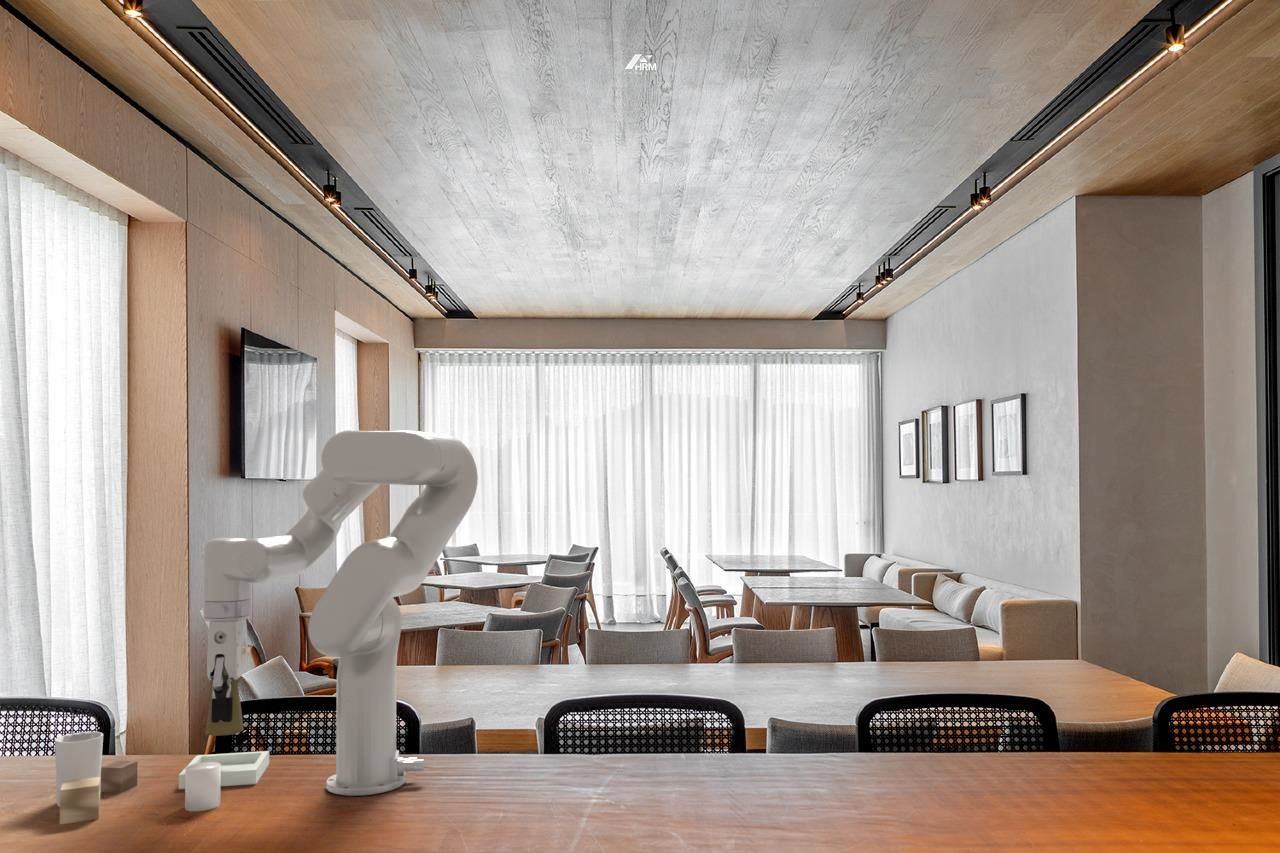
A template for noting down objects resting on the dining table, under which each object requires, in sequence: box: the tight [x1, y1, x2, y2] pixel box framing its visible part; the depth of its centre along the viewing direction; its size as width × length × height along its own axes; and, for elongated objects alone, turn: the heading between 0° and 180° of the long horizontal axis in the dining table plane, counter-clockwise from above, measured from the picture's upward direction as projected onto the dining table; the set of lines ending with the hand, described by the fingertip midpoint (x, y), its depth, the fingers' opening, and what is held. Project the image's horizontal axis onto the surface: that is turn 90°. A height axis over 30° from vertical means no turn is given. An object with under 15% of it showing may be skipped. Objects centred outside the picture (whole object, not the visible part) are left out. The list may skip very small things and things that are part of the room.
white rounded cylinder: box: [184, 762, 222, 812], centre depth 153 cm, size 5×5×6 cm
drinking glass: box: [54, 731, 104, 808], centre depth 156 cm, size 7×7×10 cm
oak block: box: [59, 777, 101, 825], centre depth 149 cm, size 5×5×5 cm
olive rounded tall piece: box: [204, 669, 244, 737], centre depth 169 cm, size 6×6×11 cm
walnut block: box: [100, 760, 139, 794], centre depth 163 cm, size 4×4×4 cm
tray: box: [178, 750, 270, 790], centre depth 169 cm, size 12×12×2 cm
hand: (225, 717), depth 169 cm, fingers closed on olive rounded tall piece, 4 cm apart
